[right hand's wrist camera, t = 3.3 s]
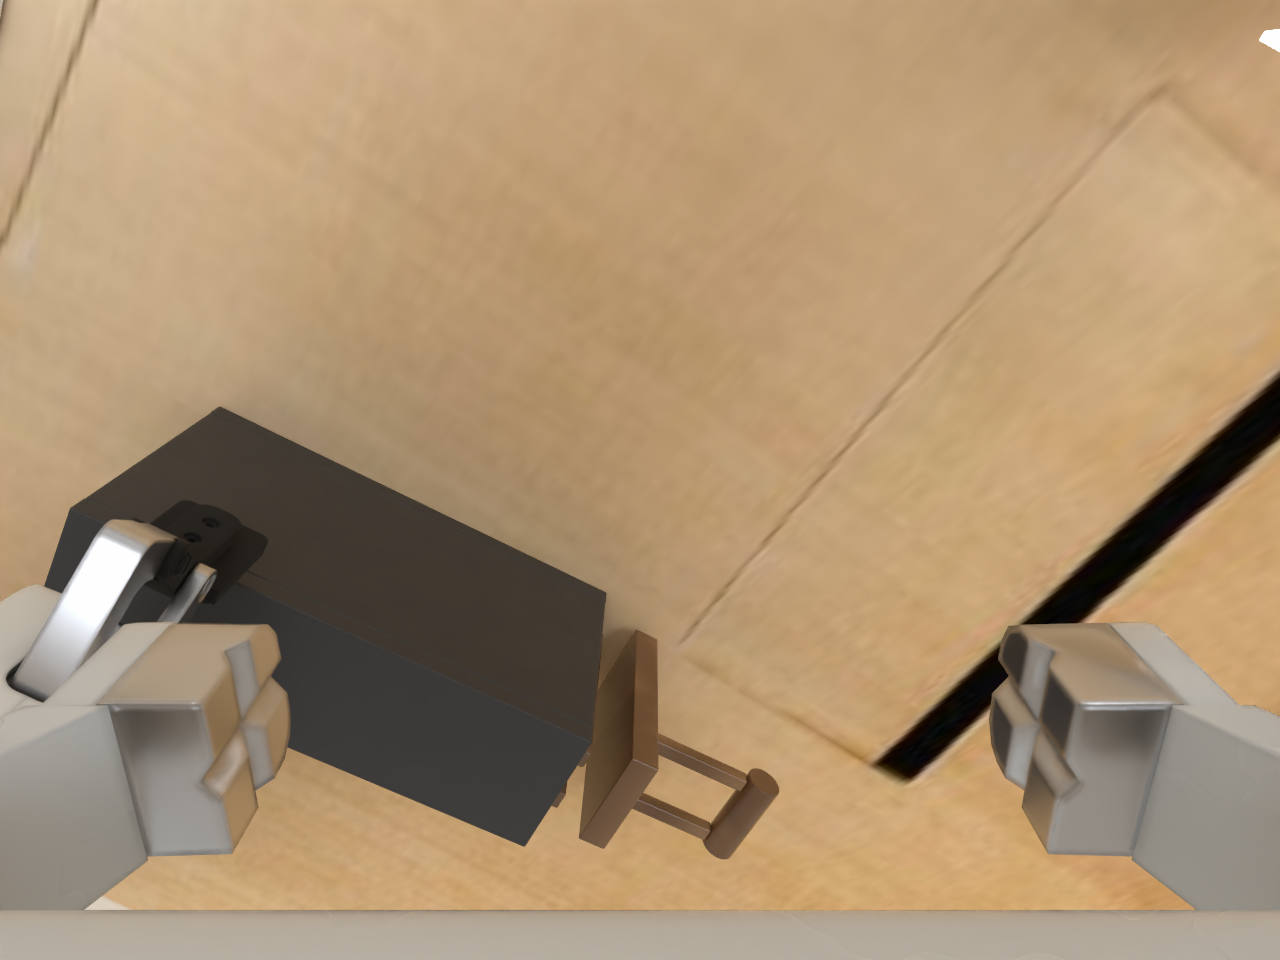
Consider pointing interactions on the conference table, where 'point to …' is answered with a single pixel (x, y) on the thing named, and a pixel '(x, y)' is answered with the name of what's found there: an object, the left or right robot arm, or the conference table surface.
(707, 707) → the conference table surface
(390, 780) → the cabinet
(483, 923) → the right robot arm
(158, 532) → the left robot arm
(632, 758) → the drawer
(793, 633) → the conference table surface
